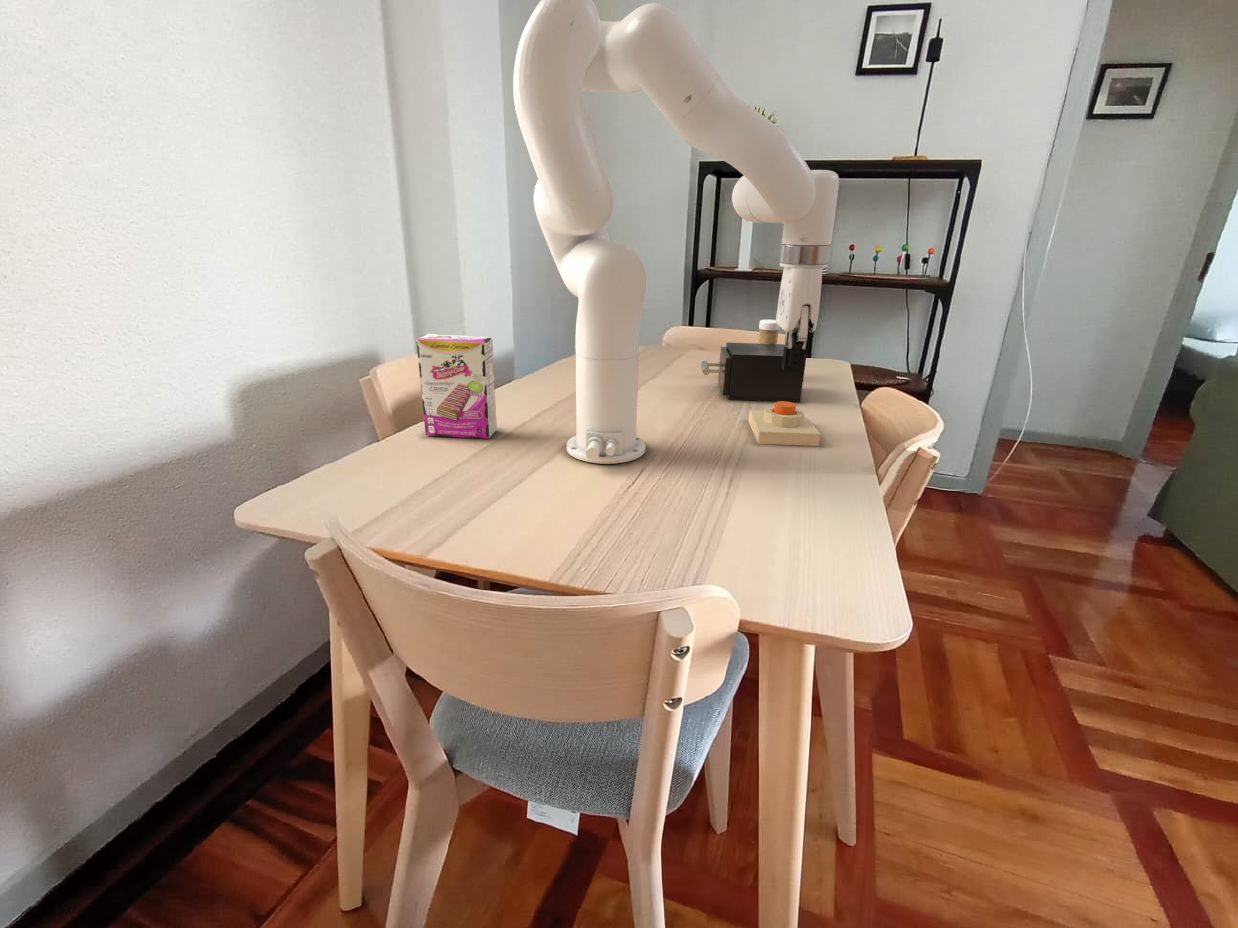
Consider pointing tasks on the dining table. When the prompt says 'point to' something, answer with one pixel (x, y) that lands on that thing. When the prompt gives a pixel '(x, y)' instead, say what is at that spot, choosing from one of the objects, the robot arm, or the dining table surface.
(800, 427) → the cream button base
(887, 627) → the dining table surface
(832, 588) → the dining table surface
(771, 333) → the sprinkles bottle
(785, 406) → the button
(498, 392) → the dining table surface
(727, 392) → the drawer with knob
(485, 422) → the candy bar box
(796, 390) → the black drawer cabinet
